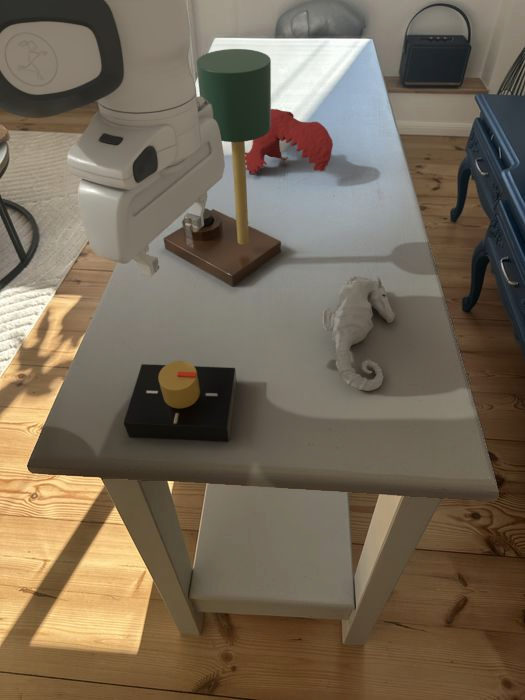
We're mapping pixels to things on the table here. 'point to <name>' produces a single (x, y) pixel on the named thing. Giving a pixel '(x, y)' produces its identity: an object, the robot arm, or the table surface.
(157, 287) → the table surface
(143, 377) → the dimmer
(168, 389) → the dimmer knob
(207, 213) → the button
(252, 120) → the lamp
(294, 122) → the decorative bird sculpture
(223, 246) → the lamp base
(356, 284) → the seahorse
